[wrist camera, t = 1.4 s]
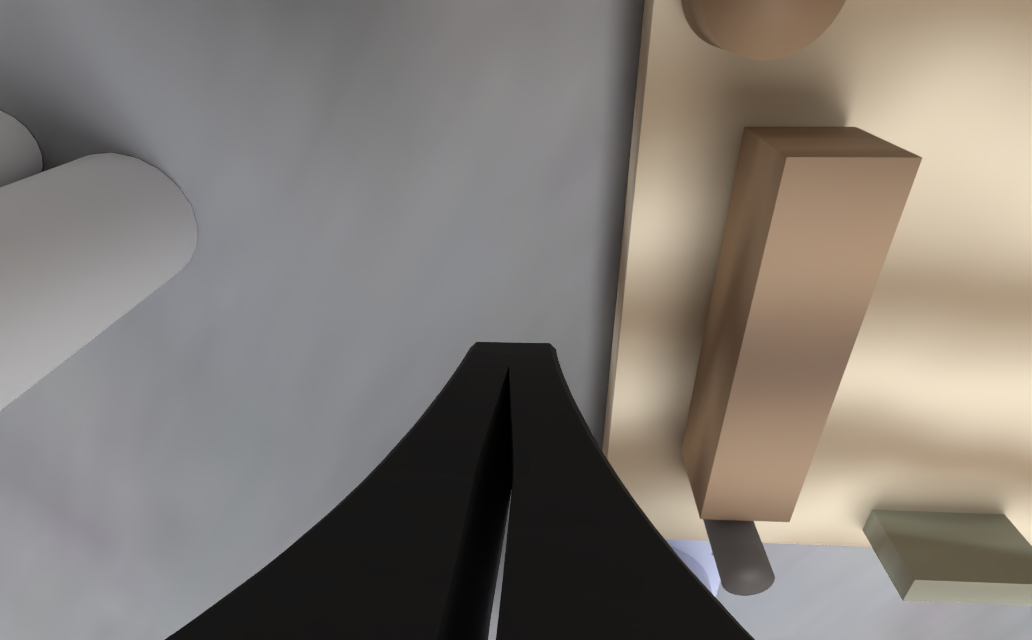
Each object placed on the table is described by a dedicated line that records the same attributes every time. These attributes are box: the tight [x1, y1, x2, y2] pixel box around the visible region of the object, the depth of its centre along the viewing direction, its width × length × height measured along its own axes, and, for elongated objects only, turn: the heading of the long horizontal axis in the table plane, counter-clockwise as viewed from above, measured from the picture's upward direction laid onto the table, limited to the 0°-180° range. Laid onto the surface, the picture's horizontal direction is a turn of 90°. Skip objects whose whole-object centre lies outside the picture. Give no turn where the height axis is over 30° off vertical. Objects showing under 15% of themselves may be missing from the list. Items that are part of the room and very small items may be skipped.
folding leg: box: [681, 127, 922, 522], centre depth 16 cm, size 12×3×3 cm, turn 1°
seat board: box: [602, 0, 1032, 606], centre depth 16 cm, size 22×22×6 cm
